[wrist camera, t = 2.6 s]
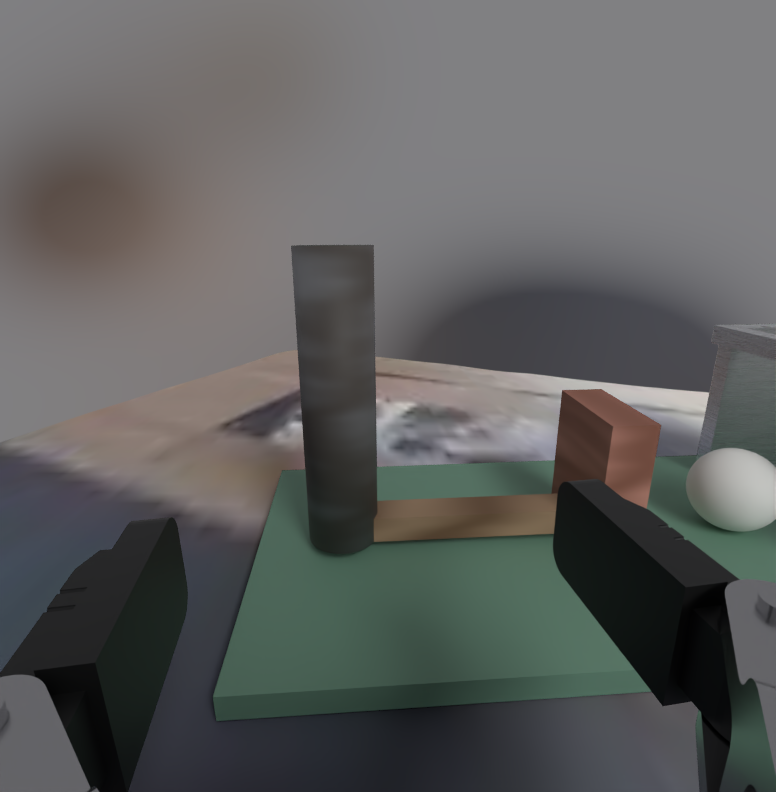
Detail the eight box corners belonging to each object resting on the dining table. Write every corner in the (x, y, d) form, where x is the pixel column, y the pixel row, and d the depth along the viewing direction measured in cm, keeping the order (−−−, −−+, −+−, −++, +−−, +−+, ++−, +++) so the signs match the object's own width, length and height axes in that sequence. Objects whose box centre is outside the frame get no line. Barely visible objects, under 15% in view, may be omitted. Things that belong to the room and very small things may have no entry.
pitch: (216, 721, 16) (212, 697, 15) (283, 484, 31) (282, 470, 31) (1165, 656, 18) (1179, 634, 18) (792, 465, 33) (795, 451, 33)
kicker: (305, 568, 21) (282, 246, 17) (313, 507, 25) (298, 245, 21) (638, 552, 22) (692, 243, 18) (587, 496, 26) (620, 242, 22)
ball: (715, 551, 22) (733, 472, 21) (663, 506, 26) (675, 436, 25) (797, 546, 23) (820, 468, 22) (733, 502, 27) (749, 434, 25)
